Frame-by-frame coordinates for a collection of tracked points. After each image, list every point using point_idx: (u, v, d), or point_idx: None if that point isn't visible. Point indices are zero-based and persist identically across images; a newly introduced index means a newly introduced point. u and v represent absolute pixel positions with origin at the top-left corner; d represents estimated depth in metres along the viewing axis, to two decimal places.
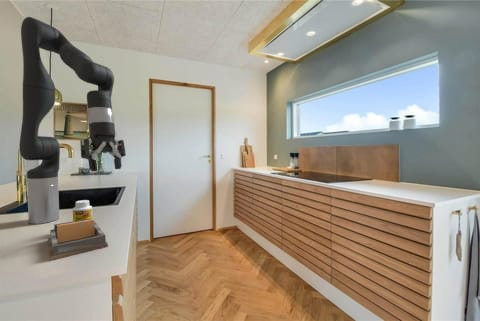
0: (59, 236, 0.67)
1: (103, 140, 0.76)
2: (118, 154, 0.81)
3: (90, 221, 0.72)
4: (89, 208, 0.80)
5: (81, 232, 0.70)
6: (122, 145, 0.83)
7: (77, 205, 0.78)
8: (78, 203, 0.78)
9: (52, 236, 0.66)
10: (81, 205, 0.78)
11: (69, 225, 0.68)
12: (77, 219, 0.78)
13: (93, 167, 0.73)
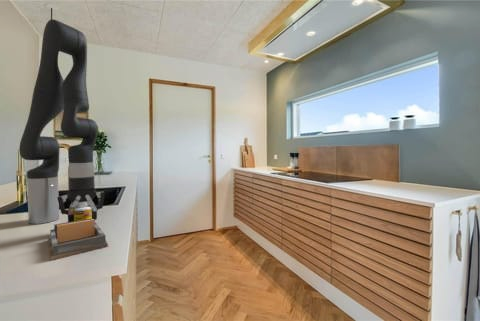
0: (59, 236, 0.67)
1: (79, 193, 0.79)
2: (93, 207, 0.81)
3: (90, 221, 0.72)
4: (89, 208, 0.80)
5: (81, 232, 0.70)
6: (101, 197, 0.83)
7: (77, 205, 0.78)
8: (78, 203, 0.78)
9: (52, 236, 0.66)
10: (81, 205, 0.78)
11: (69, 225, 0.68)
12: (77, 219, 0.78)
13: None
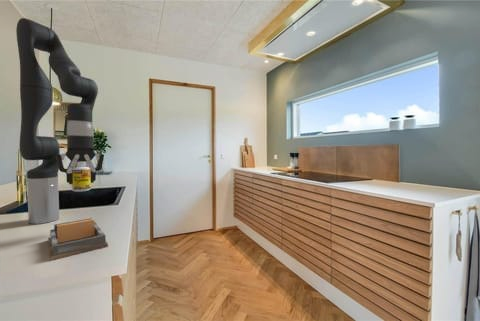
0: (59, 236, 0.67)
1: (78, 152, 0.78)
2: (92, 168, 0.81)
3: (90, 221, 0.72)
4: (88, 168, 0.79)
5: (81, 232, 0.70)
6: (100, 159, 0.82)
7: (76, 164, 0.77)
8: (77, 162, 0.77)
9: (52, 236, 0.66)
10: (80, 165, 0.78)
11: (69, 225, 0.68)
12: (76, 178, 0.77)
13: (68, 180, 0.77)
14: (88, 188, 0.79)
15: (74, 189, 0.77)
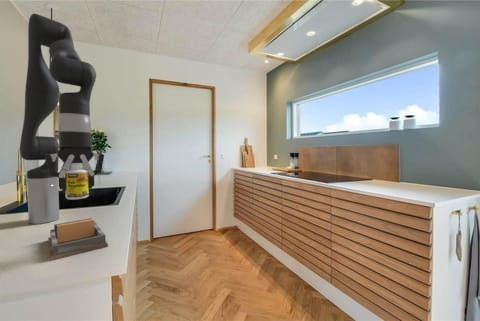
0: (59, 236, 0.67)
1: (73, 152, 0.64)
2: (90, 171, 0.67)
3: (90, 221, 0.72)
4: (85, 171, 0.65)
5: (81, 232, 0.70)
6: (100, 160, 0.68)
7: (70, 166, 0.64)
8: (71, 164, 0.64)
9: (52, 236, 0.66)
10: (75, 167, 0.64)
11: (69, 225, 0.68)
12: (70, 183, 0.63)
13: (61, 186, 0.63)
14: (85, 195, 0.66)
15: (68, 197, 0.63)
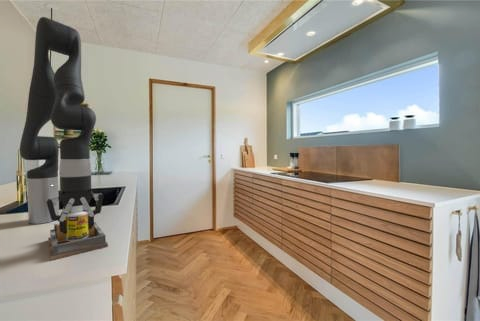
0: (59, 235, 0.67)
1: (73, 196, 0.66)
2: (90, 212, 0.69)
3: None
4: (85, 213, 0.67)
5: None
6: (100, 200, 0.70)
7: (70, 210, 0.66)
8: (72, 207, 0.66)
9: (52, 236, 0.66)
10: (75, 210, 0.66)
11: None
12: (70, 226, 0.65)
13: (61, 229, 0.65)
14: (85, 236, 0.68)
15: (69, 239, 0.65)
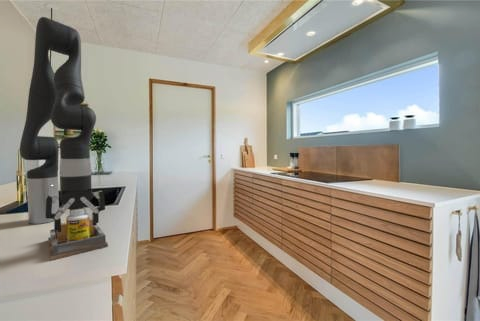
0: (59, 235, 0.67)
1: (73, 195, 0.66)
2: (94, 209, 0.69)
3: (90, 220, 0.72)
4: (86, 217, 0.67)
5: None
6: (101, 198, 0.71)
7: (71, 213, 0.66)
8: (73, 211, 0.66)
9: (52, 236, 0.66)
10: (76, 214, 0.66)
11: None
12: (71, 230, 0.65)
13: (56, 228, 0.64)
14: None
15: None
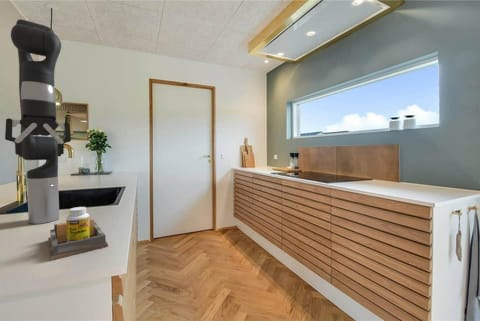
0: (59, 235, 0.67)
1: (36, 121, 0.65)
2: (58, 139, 0.69)
3: (90, 220, 0.72)
4: (86, 217, 0.67)
5: None
6: (66, 129, 0.70)
7: (71, 213, 0.66)
8: (73, 211, 0.66)
9: (52, 236, 0.66)
10: (76, 214, 0.66)
11: None
12: (71, 230, 0.65)
13: (17, 152, 0.63)
14: None
15: None
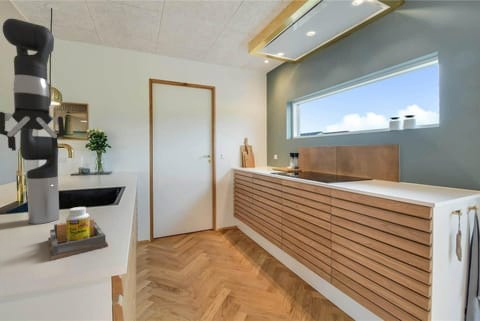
0: (59, 235, 0.67)
1: (29, 115, 0.65)
2: (52, 133, 0.68)
3: (90, 220, 0.72)
4: (86, 216, 0.67)
5: None
6: (60, 123, 0.69)
7: (71, 213, 0.66)
8: (73, 211, 0.66)
9: (52, 236, 0.66)
10: (76, 214, 0.66)
11: None
12: (71, 230, 0.65)
13: (10, 145, 0.63)
14: None
15: None
